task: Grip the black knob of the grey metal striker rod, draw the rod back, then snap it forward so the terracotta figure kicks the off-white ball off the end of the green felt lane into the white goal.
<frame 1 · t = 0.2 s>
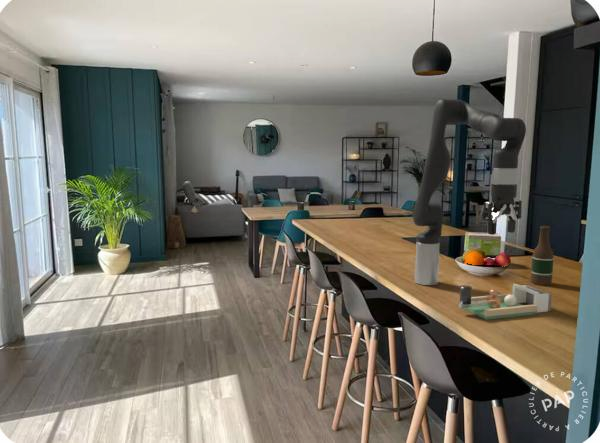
hand: (501, 233, 151), 28 cm above the kitchen island, fingers open, 8 cm apart
beer bottle: (540, 283, 195), on the kitchen island
ball: (510, 300, 163), point 3 cm above the kitchen island, touching pitch
goal: (529, 306, 165), on the kitchen island
striker: (478, 296, 159), point 5 cm above the kitchen island, slide at 0.0 cm
tea box: (481, 263, 232), on the kitchen island
pitch: (497, 310, 162), on the kitchen island
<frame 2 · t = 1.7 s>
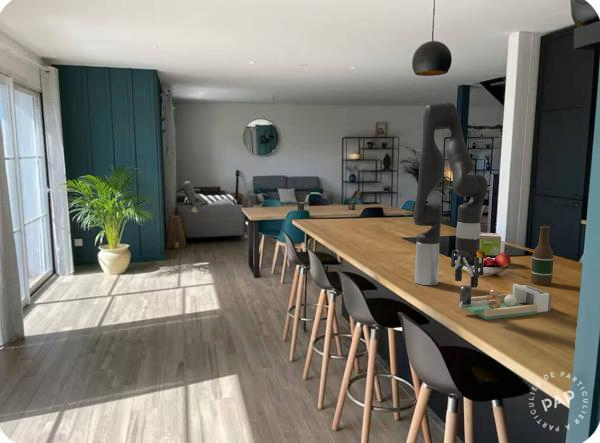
hand: (465, 284, 157), 10 cm above the kitchen island, fingers open, 8 cm apart
nothing on the kitchen island moved.
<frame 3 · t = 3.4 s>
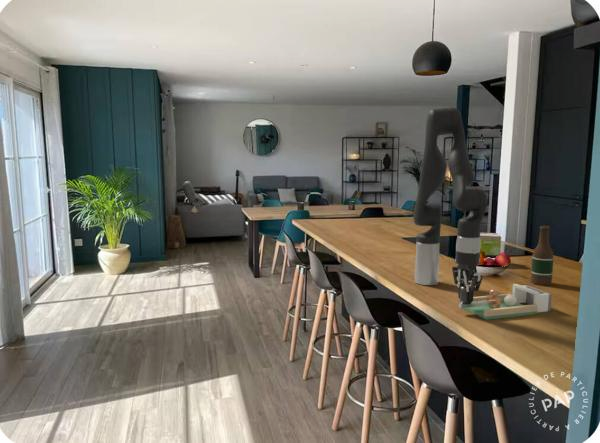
hand: (465, 300, 158), 5 cm above the kitchen island, fingers closed on striker, 3 cm apart
striker: (478, 296, 159), point 5 cm above the kitchen island, slide at 0.0 cm, touching gripper
everything else where it was.
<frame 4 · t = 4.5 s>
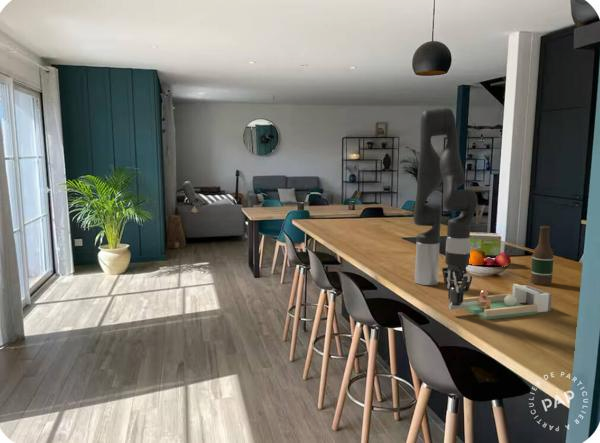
hand: (455, 301, 156), 5 cm above the kitchen island, fingers closed on striker, 3 cm apart
striker: (468, 297, 158), point 5 cm above the kitchen island, slide at -3.8 cm, touching gripper
everything else where it was.
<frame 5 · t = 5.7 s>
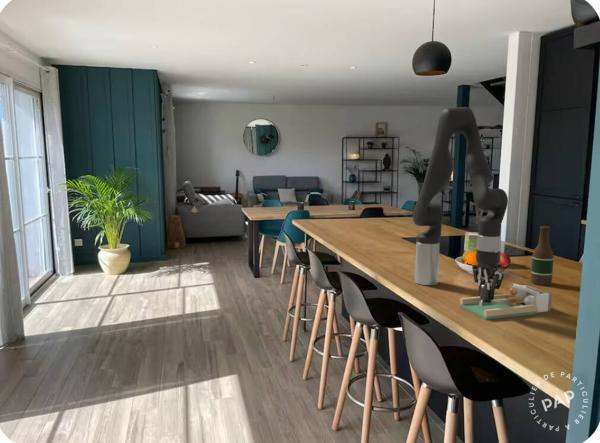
hand: (486, 298, 160), 5 cm above the kitchen island, fingers closed on striker, 3 cm apart
ball: (530, 301, 165), point 2 cm above the kitchen island, tilted 155°
striker: (498, 294, 161), point 5 cm above the kitchen island, slide at 8.0 cm, touching gripper
everything else where it was.
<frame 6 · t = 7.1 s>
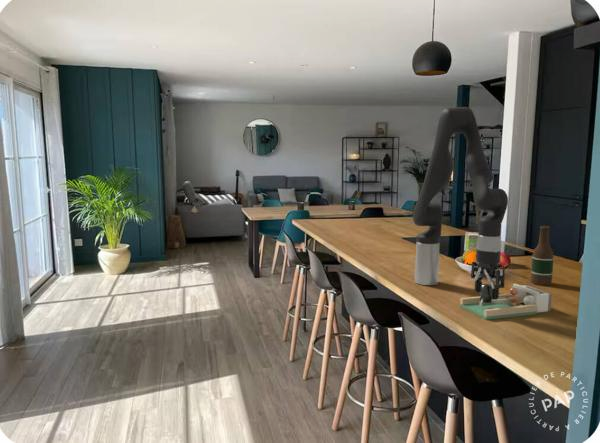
hand: (486, 295, 160), 6 cm above the kitchen island, fingers open, 8 cm apart
ball: (529, 301, 165), point 2 cm above the kitchen island, tilted 163°
striker: (499, 294, 161), point 5 cm above the kitchen island, slide at 8.0 cm
everything else where it was.
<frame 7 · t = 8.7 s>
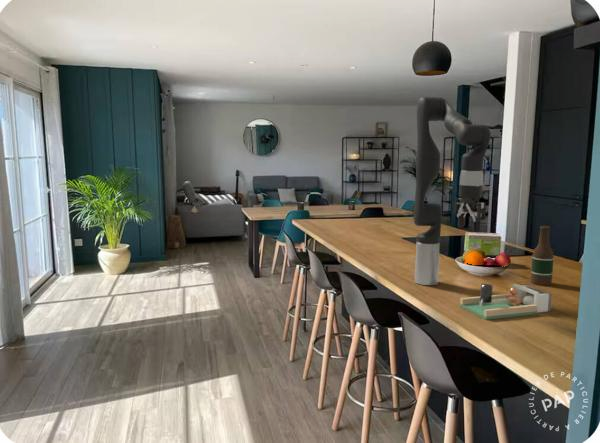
hand: (468, 229, 165), 27 cm above the kitchen island, fingers open, 8 cm apart
ball: (529, 301, 165), point 2 cm above the kitchen island, tilted 173°
everything else where it was.
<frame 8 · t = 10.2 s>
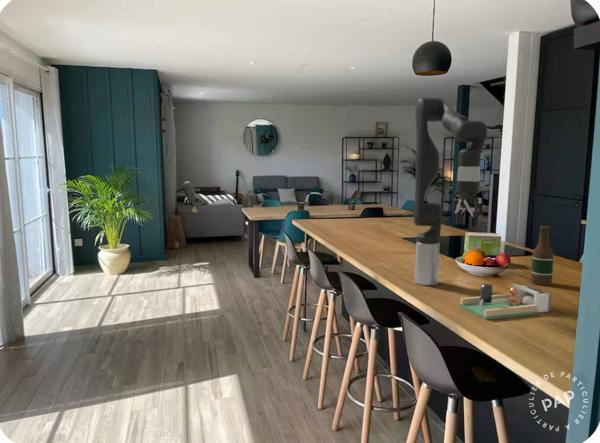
hand: (466, 225, 165), 28 cm above the kitchen island, fingers open, 8 cm apart
ball: (528, 301, 165), point 2 cm above the kitchen island, tilted 178°
everything else where it was.
at the end: ball inside the target area (1.2 cm from its centre), point 2.0 cm above the kitchen island; striker slide at 8.0 cm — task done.
